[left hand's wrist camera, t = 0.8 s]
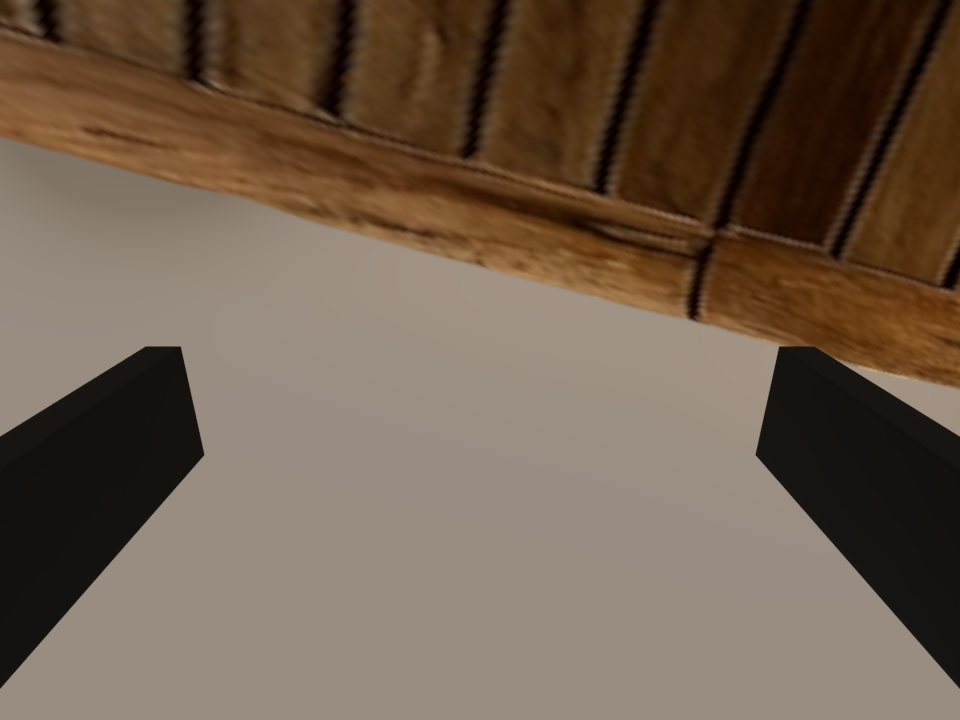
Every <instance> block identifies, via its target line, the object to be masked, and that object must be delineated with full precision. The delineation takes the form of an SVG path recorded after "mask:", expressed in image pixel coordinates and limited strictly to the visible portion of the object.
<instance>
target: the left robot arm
mask: <svg viewBox="0 0 960 720" xmlns="http://www.w3.org/2000/svg"><path fill="white" fill-rule="evenodd" d="M203 456H204V451H203V446H202V442H201V437H200V433H199V428H198V423H197V419H196V414H195V410H194V405H193V400H192V396H191V392H190V387H189V382H188V378H187V373H186V369H185V364H184V359H183V355H182V350H181V347H144V348H143V349H141V350H139V351H138V352H136V353H135V354H133V355H131V356H130V357H128V358H126V359H125V360H123V361H122V362H120V363H118V364H117V365H115V366H114V367H112V368H110V369H109V370H107V371H106V372H104V373H102V374H101V375H99V376H97V377H96V378H94V379H93V380H91V381H89V382H88V383H86V384H85V385H83V386H81V387H80V388H78V389H76V390H75V391H73V392H72V393H70V394H68V395H67V396H65V397H64V398H62V399H60V400H59V401H57V402H55V403H54V404H52V405H51V406H49V407H47V408H46V409H44V410H42V411H41V412H39V413H38V414H36V415H34V416H33V417H31V418H30V419H28V420H26V421H25V422H23V423H22V424H20V425H18V426H17V427H15V428H13V429H12V430H10V431H9V432H7V433H5V434H4V435H2V436H0V688H1V687H2V686H3V685H4V684H5V683H6V681H7V680H8V679H9V678H10V677H11V676H12V675H13V673H14V672H15V671H16V670H17V669H18V668H19V667H20V665H21V664H22V663H23V662H24V661H25V660H26V658H27V657H28V656H29V655H30V654H31V653H32V652H33V651H34V649H35V648H36V647H37V646H38V645H39V644H40V642H41V641H42V640H43V639H44V638H45V637H46V636H47V635H48V633H49V632H50V631H51V630H52V629H53V628H54V626H55V625H56V624H57V623H58V622H59V621H60V620H61V619H62V617H63V616H64V615H65V614H66V613H67V612H68V611H69V609H70V608H71V607H72V606H73V605H74V604H75V602H76V601H77V600H78V599H79V598H80V597H81V596H82V594H83V593H84V592H85V591H86V590H87V589H88V588H89V586H90V585H91V584H92V583H93V582H94V581H95V580H96V578H97V577H98V576H99V575H100V574H101V573H102V572H103V570H104V569H105V568H106V567H107V566H108V565H109V564H110V562H111V561H112V560H113V559H114V558H115V557H116V555H117V554H118V553H119V552H120V551H121V550H122V549H123V548H124V546H125V545H126V544H127V543H128V542H129V541H130V540H131V538H132V537H133V536H134V535H135V534H136V533H137V532H138V530H139V529H140V528H141V527H142V526H143V525H144V524H145V522H146V521H147V520H148V519H149V518H150V517H151V516H152V514H153V513H154V512H155V511H156V510H157V509H158V508H159V506H160V505H161V504H162V503H163V502H164V501H165V500H166V498H167V497H168V496H169V495H170V494H171V493H172V492H173V490H174V489H175V488H176V487H177V486H178V485H179V483H180V482H181V481H182V480H183V479H184V478H185V477H186V475H187V474H188V473H189V472H190V471H191V470H192V468H193V467H194V466H195V465H196V464H197V463H198V462H199V461H200V459H201V458H202V457H203ZM756 456H757V457H758V458H759V459H760V461H761V462H762V463H763V464H764V465H765V466H766V467H767V469H768V470H769V471H770V472H771V473H772V474H773V475H774V477H775V478H776V479H777V480H778V481H779V482H780V483H781V485H782V486H783V487H784V488H785V489H786V490H787V492H788V493H789V494H790V495H791V496H792V497H793V498H794V500H795V501H796V502H797V503H798V504H799V505H800V506H801V508H802V509H803V510H804V511H805V512H806V513H807V514H808V515H809V517H810V518H811V519H812V520H813V521H814V522H815V524H816V525H817V526H818V527H819V528H820V529H821V530H822V532H823V533H824V534H825V535H826V536H827V537H828V538H829V540H830V541H831V542H832V543H833V544H834V545H835V546H836V548H837V549H838V550H839V551H840V552H841V553H842V554H843V556H844V557H845V558H846V559H847V560H848V561H849V562H850V564H851V565H852V566H853V567H854V568H855V569H856V570H857V572H858V573H859V574H860V575H861V576H862V577H863V578H864V580H865V581H866V582H867V583H868V584H869V585H870V586H871V588H872V589H873V590H874V591H875V592H876V593H877V594H878V596H879V597H880V598H881V599H882V600H883V601H884V602H885V604H886V605H887V606H888V607H889V608H890V609H891V611H892V612H893V613H894V614H895V615H896V616H897V617H898V619H899V620H900V621H901V622H902V623H903V624H904V625H905V626H906V628H907V629H908V630H909V631H910V632H911V633H912V635H913V636H914V637H915V638H916V639H917V640H918V641H919V642H920V644H921V645H922V646H923V647H924V648H925V649H926V651H927V652H928V653H929V654H930V655H931V656H932V657H933V659H934V660H935V661H936V662H937V663H938V664H939V665H940V667H941V668H942V669H943V670H944V671H945V672H946V673H947V675H948V676H949V677H950V678H951V679H952V680H953V681H954V683H955V684H956V685H957V686H958V687H959V688H960V436H958V435H956V434H955V433H953V432H951V431H950V430H948V429H947V428H945V427H943V426H942V425H940V424H939V423H937V422H935V421H934V420H932V419H930V418H929V417H927V416H926V415H924V414H922V413H921V412H919V411H918V410H916V409H914V408H913V407H911V406H909V405H908V404H906V403H905V402H903V401H901V400H900V399H898V398H896V397H895V396H893V395H892V394H890V393H888V392H887V391H885V390H884V389H882V388H880V387H879V386H877V385H876V384H874V383H872V382H871V381H869V380H867V379H866V378H864V377H863V376H861V375H859V374H858V373H856V372H855V371H853V370H851V369H850V368H848V367H846V366H845V365H843V364H842V363H840V362H838V361H837V360H835V359H834V358H832V357H830V356H829V355H827V354H825V353H824V352H822V351H821V350H819V349H817V348H816V347H779V350H778V355H777V360H776V364H775V369H774V373H773V378H772V382H771V387H770V391H769V396H768V401H767V405H766V410H765V414H764V419H763V423H762V428H761V432H760V437H759V442H758V446H757V451H756Z"/></svg>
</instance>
